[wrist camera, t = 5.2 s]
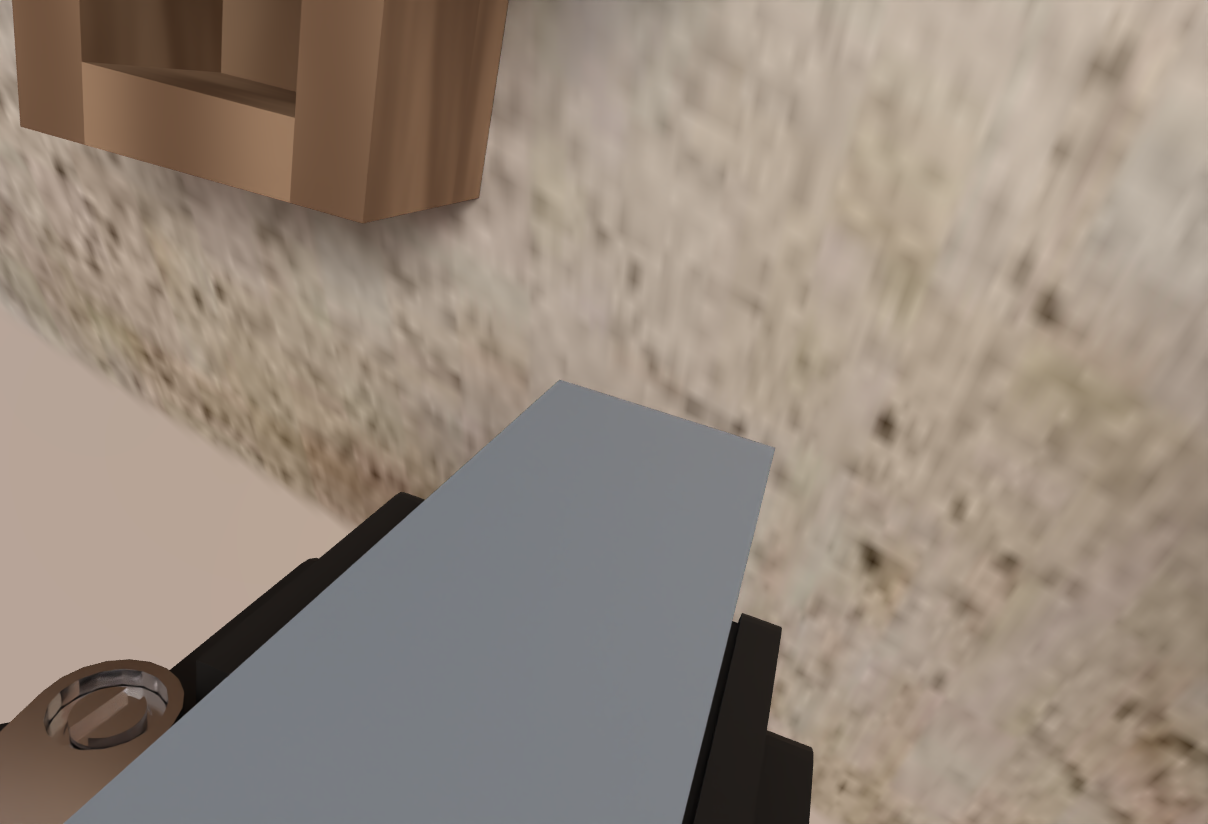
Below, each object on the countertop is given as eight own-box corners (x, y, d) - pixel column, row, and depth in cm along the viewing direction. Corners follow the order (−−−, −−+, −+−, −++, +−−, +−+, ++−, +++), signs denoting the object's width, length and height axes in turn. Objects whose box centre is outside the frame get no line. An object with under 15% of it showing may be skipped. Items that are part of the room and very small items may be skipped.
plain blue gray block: (775, 447, 14) (479, 1640, 3) (714, 630, 15) (376, 1837, 5) (559, 379, 15) (-294, 1141, 4) (522, 560, 16) (-153, 1461, 5)
